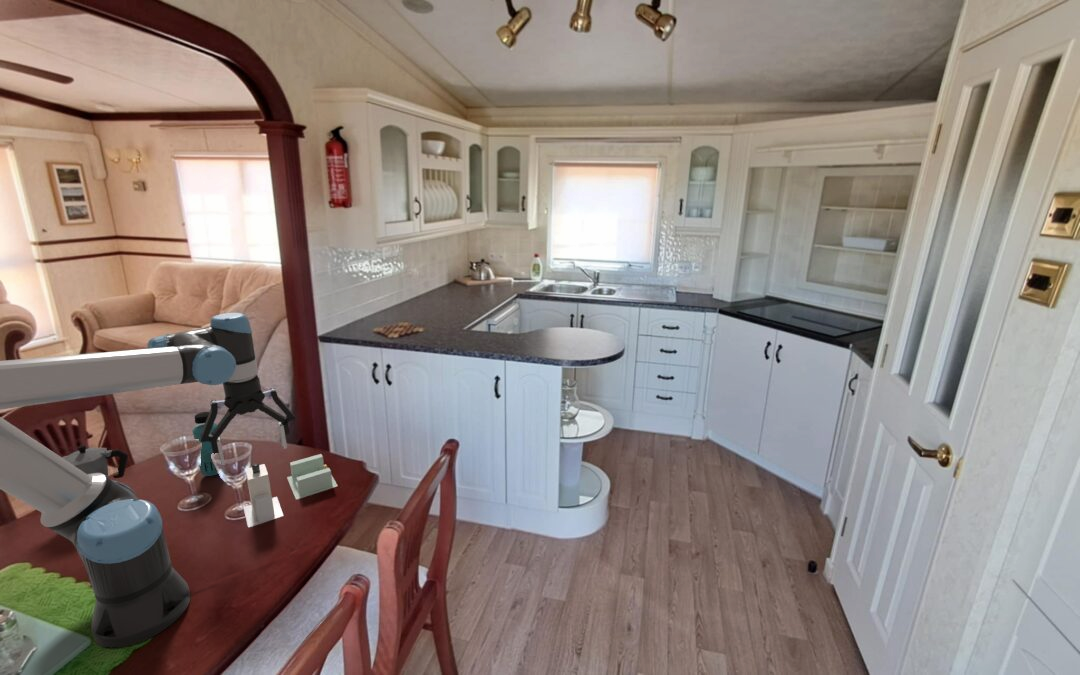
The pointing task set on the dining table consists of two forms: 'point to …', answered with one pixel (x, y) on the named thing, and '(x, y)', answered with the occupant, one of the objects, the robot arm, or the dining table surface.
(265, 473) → the white tall block
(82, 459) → the coffeepot
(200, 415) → the beverage bottle
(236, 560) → the dining table surface
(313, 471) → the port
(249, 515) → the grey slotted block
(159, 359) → the robot arm
